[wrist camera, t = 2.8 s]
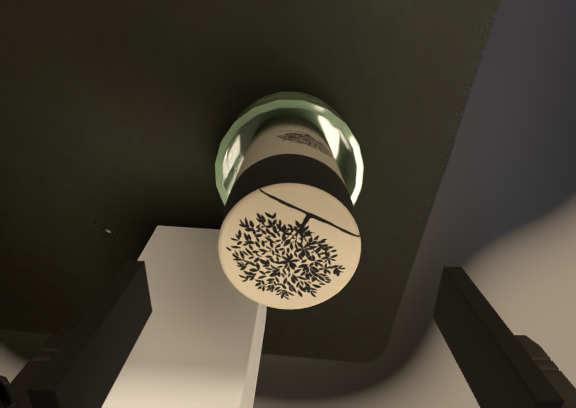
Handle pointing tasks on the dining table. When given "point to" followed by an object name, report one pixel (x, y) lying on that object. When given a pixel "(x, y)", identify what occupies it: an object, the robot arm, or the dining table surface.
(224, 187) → the pot
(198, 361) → the milk
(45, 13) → the dining table surface
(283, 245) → the travel mug
